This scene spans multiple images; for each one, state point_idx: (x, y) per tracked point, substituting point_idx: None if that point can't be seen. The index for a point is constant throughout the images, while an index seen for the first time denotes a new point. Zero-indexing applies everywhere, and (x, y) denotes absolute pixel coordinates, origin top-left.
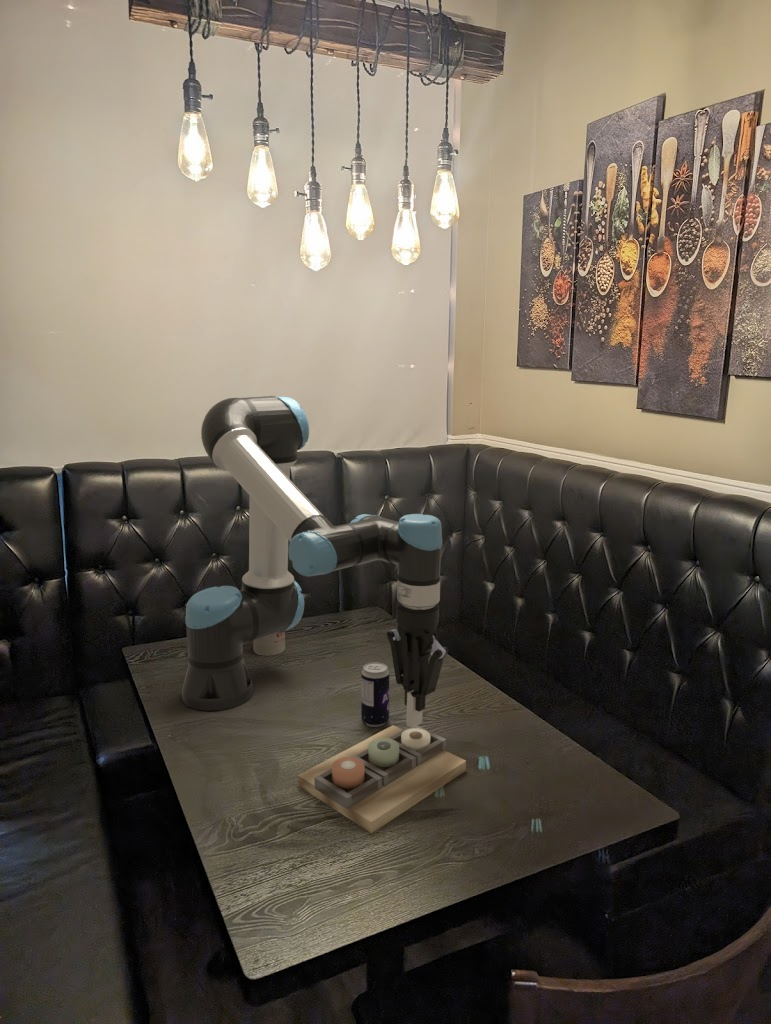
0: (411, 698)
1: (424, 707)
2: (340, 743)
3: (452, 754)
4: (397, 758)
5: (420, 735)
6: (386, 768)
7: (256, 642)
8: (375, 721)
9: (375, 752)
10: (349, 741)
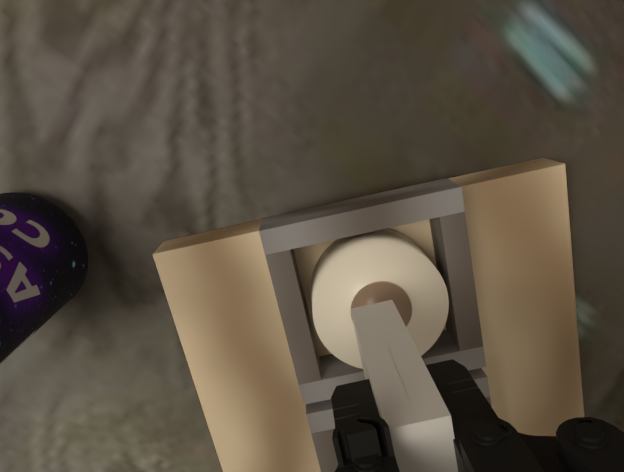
0: None
1: (464, 371)
2: (127, 430)
3: (494, 181)
4: None
5: (399, 298)
6: None
7: None
8: (75, 290)
9: None
10: (129, 399)
